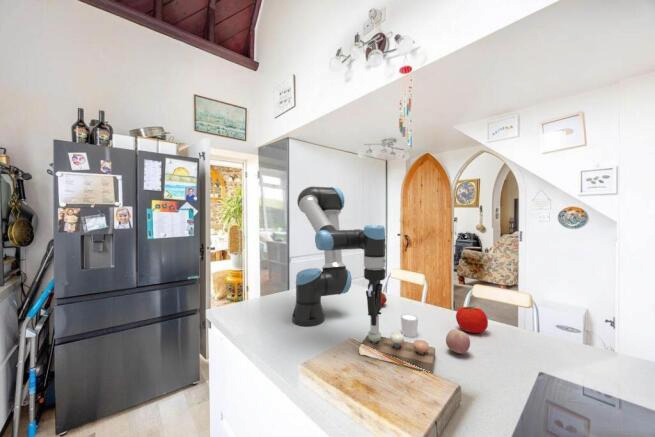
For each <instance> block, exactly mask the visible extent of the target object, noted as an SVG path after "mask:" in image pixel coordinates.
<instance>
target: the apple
mask: <svg viewBox="0 0 655 437" xmlns="http://www.w3.org/2000/svg"><path fill="white" fill-rule="evenodd" d="M445 344H446V346H447V348H448V349H449V350H450V351H453V352H454V353H456V354H460V355H464V354H466V353H467V352H468V351H469V348H470V347H471V340H470V337H469V335H468V334H467V333H466V332H464V331H462V330H460V329H451V330H449V331H448V333H447V334H446V338H445Z"/></svg>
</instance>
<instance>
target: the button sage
mask: <svg viewBox="0 0 655 437" xmlns="http://www.w3.org/2000/svg"><path fill="white" fill-rule="evenodd" d="M367 335H368V339H369V340H371V341H372V343H373V344H377V341H380V340H381V337H382V333H381V332H380V331H379V334H378V335H377V334H372V333H371V331H368V332H367Z"/></svg>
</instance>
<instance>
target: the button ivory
mask: <svg viewBox="0 0 655 437" xmlns="http://www.w3.org/2000/svg"><path fill="white" fill-rule="evenodd" d="M404 337H405V336H404V335H403V334H402V333H401V332H398V331H394V332H390V333H389V338H390V340H391V341H392V342H394V348H395V349H400V343H403V342H404V341H405V338H404Z"/></svg>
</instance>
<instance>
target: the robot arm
mask: <svg viewBox="0 0 655 437" xmlns="http://www.w3.org/2000/svg"><path fill="white" fill-rule="evenodd" d="M296 201H297V202H296V203H297V207H298V208H299V210H300V212H301V213H303V214H304V215H305V216H306V219H308V222H309V223H310V225H311V227H312V229H313V230H314V232H315V236H314V242H315V247H316V249H317V250H318V251H323V252H324V253H323V254H324V265H323V266H322V270H321V268H318V267H317V268H316V267H315V268H306V269H302V270H300V271H298V272H297V273H296V275H295V276H296V278H295V306H294V309H293V312H292V314H291V315H292V316H291V317H292V318H291V319H292V321H291V322H292V323H293V324H294V325H297V326H301V327H311V326H318V325H320V324H322V323H324V322H325V320H326V319H325V312H324V310H323V306H322V297H327V296H335V295H336V296H337V295H339V296H340V295H343V294H346V293H348V292H349V290H350V288H351V286H352V279H353V278H352V274H351V271H350V270H349V269H348V268H347V267H346V265H345V263H344V262H343V256H342V251H343V250H363V266H364V269H363V278H364V279H365V280H367V281H368V283H367V290H366V291H365V294H366V301H367V302H366V303H367V315H368V316H370V326H369V327H370V331H371V333H372V334H377V335H378V334H379V332H380V316H381V315H382V312H381V310H382V308H381V294H382V293H383V292H382V291H383V283H381V281H384V280H385V279H386V269H385V268H386V263H387V259H386V228H385V227H384V225H376V224H375V225H373V224H372V225H371V224H369V225H365V226H364V229H357V228H356V229H341V230H340V222H339V215H340V214H341V213H342V210H343V208H344V207H345V196H344V193H343V192H342V190H341V189H340V188H338V187H334V186H328V187H325V186H308V187H306V188H303V190H301V192H300V193H299V195H298V197H297V200H296ZM370 331H369V332H370Z"/></svg>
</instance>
